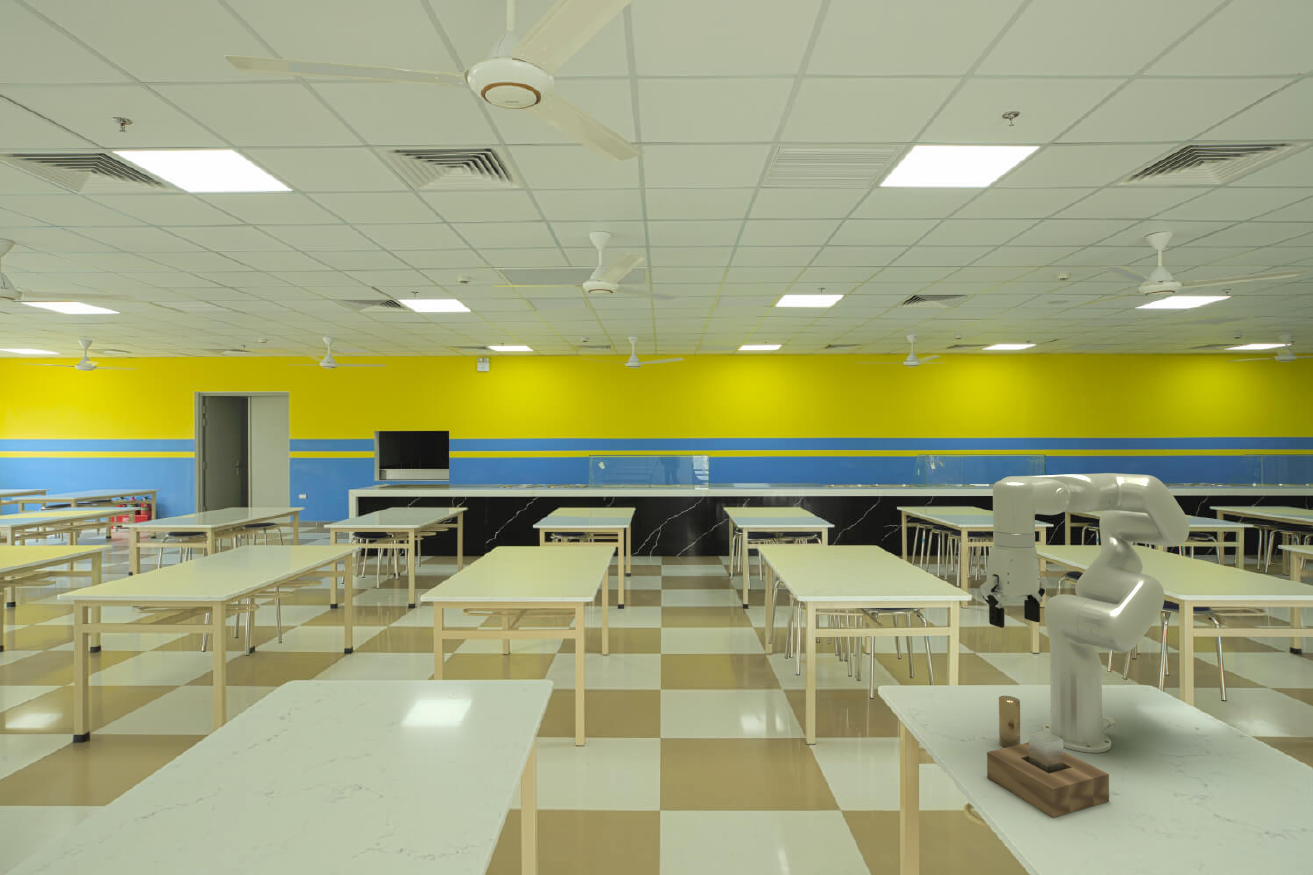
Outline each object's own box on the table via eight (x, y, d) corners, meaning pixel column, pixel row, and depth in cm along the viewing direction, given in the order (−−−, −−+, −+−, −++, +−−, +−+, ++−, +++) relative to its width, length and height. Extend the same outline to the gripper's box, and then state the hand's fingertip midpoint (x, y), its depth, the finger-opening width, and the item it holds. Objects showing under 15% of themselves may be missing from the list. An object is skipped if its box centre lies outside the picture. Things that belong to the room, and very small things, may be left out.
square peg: (1044, 781, 123) (1044, 730, 123) (1063, 792, 119) (1063, 739, 119) (1029, 785, 122) (1028, 733, 122) (1047, 796, 118) (1047, 742, 118)
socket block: (1039, 764, 130) (1039, 739, 130) (1109, 801, 116) (1108, 773, 116) (987, 777, 125) (987, 752, 125) (1053, 817, 112) (1052, 789, 112)
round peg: (1008, 739, 140) (1008, 694, 140) (1024, 748, 136) (1024, 701, 136) (994, 742, 139) (994, 697, 139) (1010, 751, 135) (1010, 704, 135)
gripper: (1028, 535, 138) (1029, 614, 138) (966, 540, 132) (967, 622, 132) (1061, 540, 131) (1062, 623, 131) (997, 546, 125) (998, 633, 125)
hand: (1014, 623), depth 131 cm, fingers open, 9 cm apart
